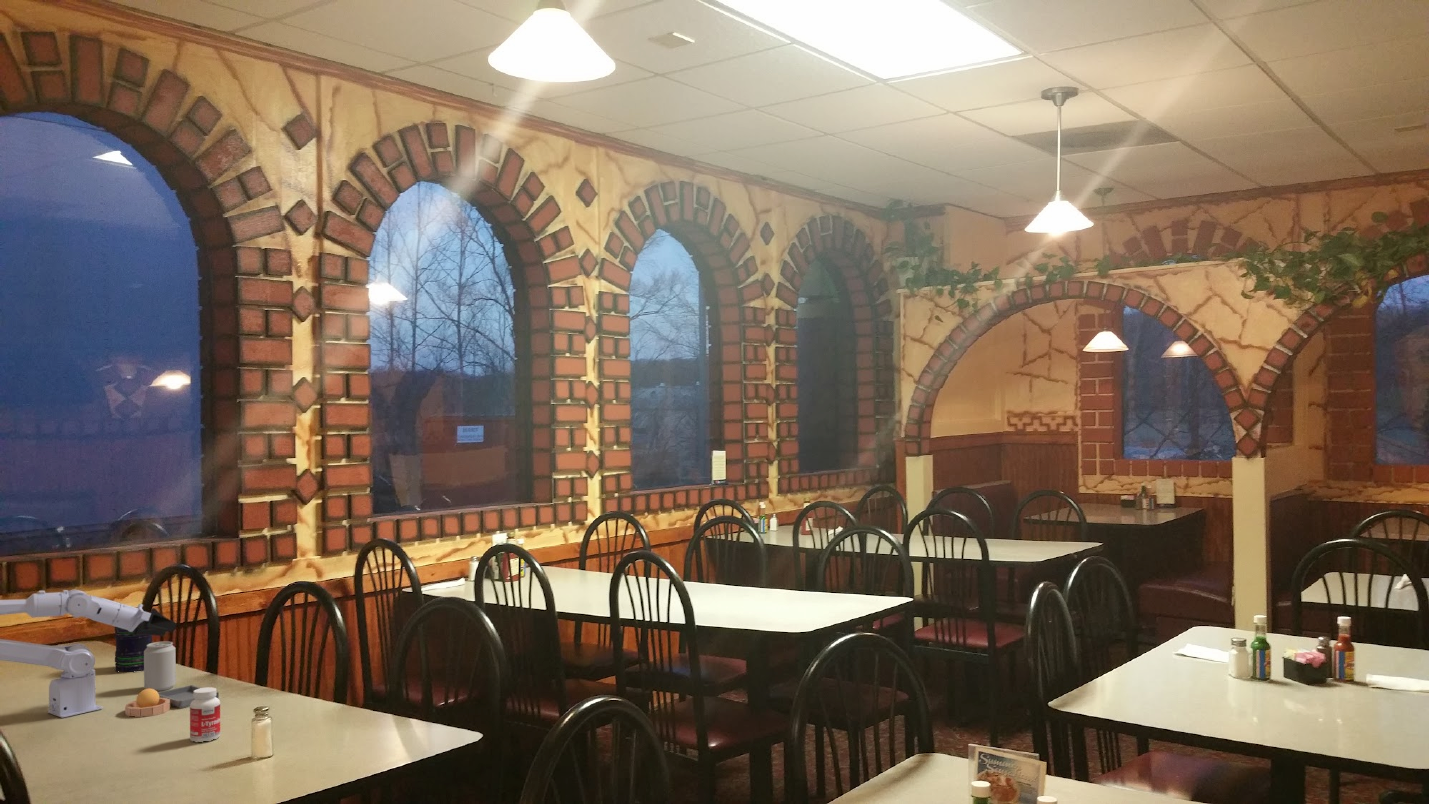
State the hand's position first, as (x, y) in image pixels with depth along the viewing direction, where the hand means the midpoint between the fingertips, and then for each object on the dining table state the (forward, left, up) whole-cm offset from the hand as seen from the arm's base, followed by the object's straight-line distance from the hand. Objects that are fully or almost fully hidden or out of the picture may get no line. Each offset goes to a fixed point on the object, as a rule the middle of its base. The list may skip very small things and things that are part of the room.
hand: (170, 629), depth 277 cm
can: (+2, +10, -17) cm, 20 cm away
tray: (0, -7, -17) cm, 18 cm away
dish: (-10, -9, -17) cm, 22 cm away
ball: (-10, -9, -14) cm, 20 cm away
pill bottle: (-14, -42, -17) cm, 47 cm away
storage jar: (+9, +38, -17) cm, 43 cm away
